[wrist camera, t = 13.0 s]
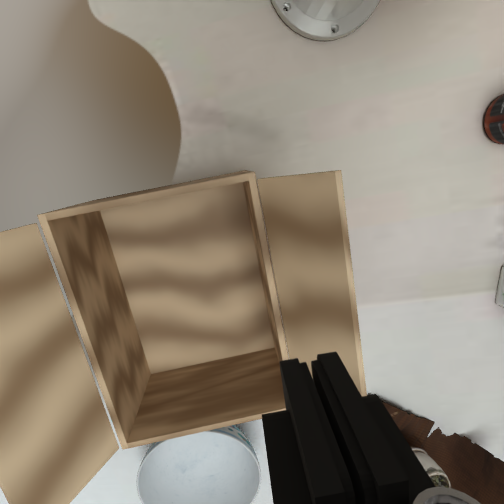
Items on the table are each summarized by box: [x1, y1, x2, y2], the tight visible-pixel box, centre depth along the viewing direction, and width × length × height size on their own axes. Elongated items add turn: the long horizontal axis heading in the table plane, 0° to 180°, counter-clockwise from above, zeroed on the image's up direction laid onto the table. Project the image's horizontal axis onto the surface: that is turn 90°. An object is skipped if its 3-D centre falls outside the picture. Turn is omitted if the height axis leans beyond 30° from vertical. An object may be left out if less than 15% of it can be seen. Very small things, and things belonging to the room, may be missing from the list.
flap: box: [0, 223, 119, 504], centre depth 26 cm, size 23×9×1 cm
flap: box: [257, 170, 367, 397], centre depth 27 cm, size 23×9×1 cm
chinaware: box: [137, 425, 261, 504], centre depth 44 cm, size 15×15×8 cm
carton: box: [37, 170, 289, 449], centre depth 36 cm, size 24×18×12 cm
